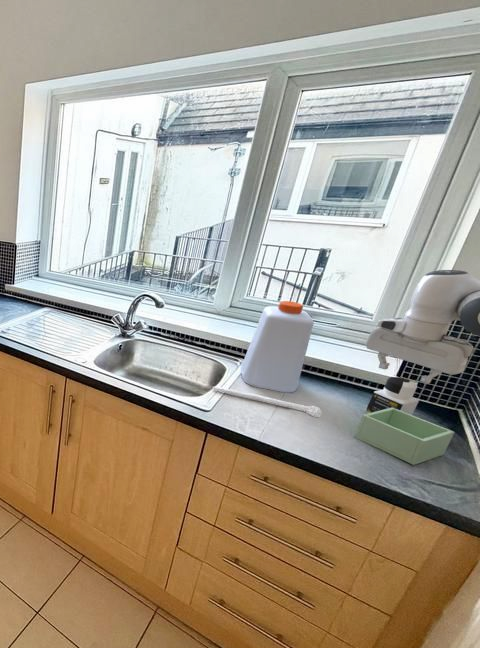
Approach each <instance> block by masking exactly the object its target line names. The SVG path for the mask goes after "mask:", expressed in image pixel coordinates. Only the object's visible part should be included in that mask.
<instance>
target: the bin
mask: <svg viewBox="0 0 480 648" xmlns="http://www.w3.org/2000/svg"><path fill="white" fill-rule="evenodd" d="M354 433H355V434H354V438H356V439H357V440H360V441H362V442H364V443H366V444H368V445H371V447H375V448H377V449H379V450H381V451H383V452H385V453H387V454H390V455H391V456H394V457H396V458H398V459H400V460H402V461H404V462H406V463H409V464H410V465H412V466H415V465H418V464H420V463H423V462H426V461H430V460H432V459H435V458H436V459H437V458H438V457H441V456H444V455H445V453H446V450H447V448H448V446H449V444H450V442H451V441H452V438H453V436H454V435H455V431H453V430H450V429H449V428H445V427H443V426H441V425H438V424H436V423H433V422H431V421H428V420H425V419H423V418H420V417H418V416H415V415H413V414H412V415H410V414H408V413H405V412H403V411H400V410H398V409H395V408H393V407H392V408H388V409H384V410H380V411H376V412H372V413H369V412H367V413H365V414H362V415H361V418H360V421H359V423H358V426H357V428H356V431H355V432H354Z"/></svg>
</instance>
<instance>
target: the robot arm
mask: <svg viewBox="0 0 480 648" xmlns="http://www.w3.org/2000/svg"><path fill="white" fill-rule="evenodd" d="M453 321H460V325H461V326H462V327H463V328H464V329H465V330H466V331H468V332H469V333H470V334H472V335H475V336H478V337H480V280H479V279H477V278H475V277H474V276H472V275H471V274H470V273H469V272H468V271H466V270H465V271H464V270H455V269H439V270H433V271H430V272H428V273H426V274H424V275H423V276H422V278H420V279H419V281H418V283H417V285H416V287H415V288H414V291H413V293H412V296H411V298H410V306H409V308H408V310H406V312H405V313H404V315H403V317H392V318H391V317H390V318H384V319H380V320H377V322H376V326H377V327H375V328H373V329H372V330H371V332H370V333H369V335H368V336H367V339H366V341H365V345H364V346H365V348H366V349H367V350H370V351H373V352H377V358H378V362H379V364H378V369H380V370H381V369H382V370H384V371H386V370H388V369H389V367H390V364H391V363H389V362H387V357H389V356H390V357H392V358H396V359H399V360H402V361H405V362H408V363H412V364H415V365H419V366H422V367H424V368H428V369H430V370H429V373H430V374H429V375H422V376H421V377H420V380H419V382H420V383H422V384H426V385H429V384H430V383H431V382H432V380H433V378H435V377H437V376H439V375H441V374H442V373H443V374H447V375H450V376H454V375H458V374H461V373H463V372H464V371H465V369H466V366H467V363H468V359H469V357H471V356H472V354H473V352H474V350H475V349H474V346H473V344H472V343H470V342H469V340H466V339H463V338H457V337H456V336H455V337H454V336H451V335H447V333H448V331H449V329H450V328H451V325H452V323H453Z"/></svg>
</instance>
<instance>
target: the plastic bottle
mask: <svg viewBox="0 0 480 648" xmlns="http://www.w3.org/2000/svg"><path fill="white" fill-rule="evenodd" d="M303 309H304V306H303V304H302V303H299V302H295V301H291V300H290V301H289V300H282V301H280V302H279V304H278V306H275V305H274V306H273V305H270V306H266V307H264V308H263V310H262V313H261V315H260V318H259V320H258V323H257V325H256V328H255V331H254V334H253V336H252V338H251V341H250V343H249V346H248V349H247V351H246V354H245V355H244V359H243V361H242V364H241V366H240V373H241V376H242V380H243V382H244V383H246V384H247V385H249V386H250V387H251V386H252V387H254V388H259V389H264V390H268V391H269V390H270V391H274V392H279V393H286V394H288V393H290V394H291V393H294V392H295V391H296V390H297V389H298V385H299V381H300V377H301V374H302V370H303V367H304V362H305V359H306V354H307V350H308V347H309V343H310V340H311V335H312V332H313V328H314V323H315V322H314V319H313V318H312V317H311V316H310V314H309V313H308V312H306V311H305V310H303Z"/></svg>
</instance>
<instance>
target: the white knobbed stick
mask: <svg viewBox="0 0 480 648" xmlns="http://www.w3.org/2000/svg"><path fill="white" fill-rule="evenodd" d="M212 390H214V391H217V392H221V393H225V394H229V395H232V396H235V397H241V398H243V399H250V400H254V401H259V402H264V403H267V404H272V405H276V406H280V407H284V408H287V409H292V410H296V411H301V412H302V413H303V412H304V413H306V414H307V415H309V416H311V417H314V418H321V417H322V409H321V408H320V407H318V406H315V405H309V406H307V405H303V404H299V403H295V402H294V403H293V402H291V401H290V402H289V401H285V400H280V399H276V398H271V397H267V396H263V395H259V394H255V393H249V392H244V391H240V390H236V389H231V388H224V387H221V386H212Z"/></svg>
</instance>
